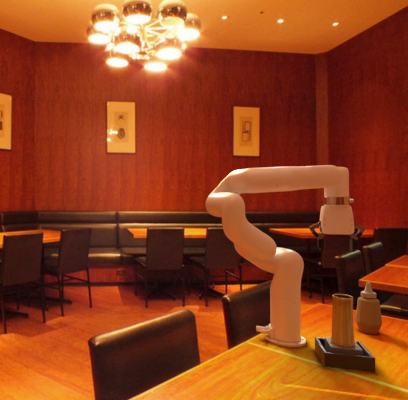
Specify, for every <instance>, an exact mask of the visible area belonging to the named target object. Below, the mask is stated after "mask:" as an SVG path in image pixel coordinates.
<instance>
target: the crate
mask: <svg viewBox="0 0 408 400" xmlns="http://www.w3.org/2000/svg"><path fill="white" fill-rule="evenodd" d="M325 338H326V337H314V351H315V353H316V355H317V356H318V358H319V360H320V362H321V363H322V365H323V367H324V368H332V369H340V370H348V371H349V370H350V371H357V372H358V371H359V372H365V373H374V374H376V357H375V356H374V355H373V353H372V352H371V351H369V349H368V347H366V346H365V345H364V344H363V343H362V341H358V340H354V341H355V342H356V343H357V344H358V345H359V346H360V348H361V349H362V350H363V356H359V355H350V354H340V353H330V352H326V350H325Z"/></svg>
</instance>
